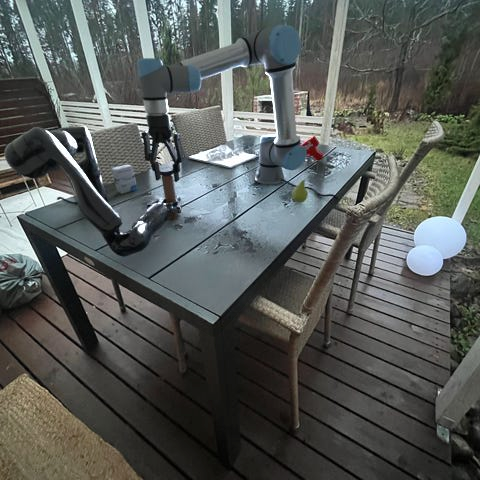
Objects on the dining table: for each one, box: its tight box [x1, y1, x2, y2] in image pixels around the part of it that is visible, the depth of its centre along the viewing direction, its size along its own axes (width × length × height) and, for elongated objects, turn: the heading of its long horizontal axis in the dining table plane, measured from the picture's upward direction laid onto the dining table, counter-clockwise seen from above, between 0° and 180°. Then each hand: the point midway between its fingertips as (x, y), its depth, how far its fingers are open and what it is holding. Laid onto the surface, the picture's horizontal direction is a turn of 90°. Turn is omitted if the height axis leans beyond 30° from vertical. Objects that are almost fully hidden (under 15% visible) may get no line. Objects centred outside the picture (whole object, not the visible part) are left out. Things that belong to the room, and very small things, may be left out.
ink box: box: [110, 164, 138, 195], centre depth 131 cm, size 8×5×12 cm, turn 135°
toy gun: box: [301, 135, 324, 163], centre depth 172 cm, size 18×4×15 cm
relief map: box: [188, 143, 257, 169], centre depth 179 cm, size 27×35×5 cm
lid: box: [159, 167, 174, 177], centre depth 101 cm, size 5×5×2 cm
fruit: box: [291, 174, 311, 204], centre depth 118 cm, size 7×8×12 cm
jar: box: [161, 174, 179, 219], centre depth 106 cm, size 4×4×18 cm
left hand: (173, 198), depth 110 cm, fingers closed on jar, 4 cm apart
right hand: (167, 179), depth 103 cm, fingers open, 7 cm apart
